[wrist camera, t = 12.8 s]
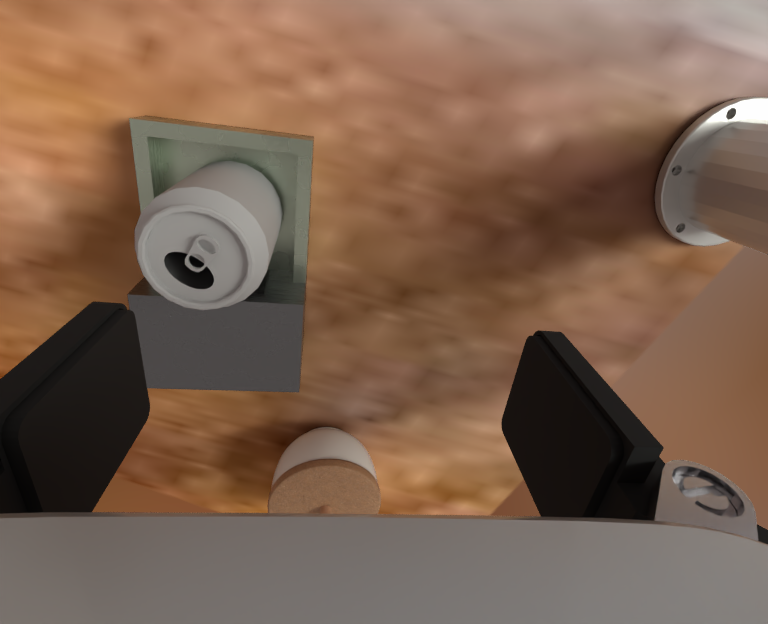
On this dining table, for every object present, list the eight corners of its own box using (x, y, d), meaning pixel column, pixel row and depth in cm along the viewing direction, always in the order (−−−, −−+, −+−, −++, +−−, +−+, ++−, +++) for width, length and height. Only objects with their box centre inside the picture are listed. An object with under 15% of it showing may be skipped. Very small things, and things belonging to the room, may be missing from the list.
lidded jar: (340, 493, 51) (343, 570, 43) (257, 462, 48) (243, 541, 39) (391, 433, 48) (405, 504, 40) (308, 394, 44) (304, 465, 36)
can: (167, 214, 34) (95, 272, 23) (218, 136, 32) (166, 162, 21) (249, 269, 37) (219, 343, 26) (302, 201, 35) (292, 252, 24)
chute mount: (313, 136, 33) (311, 147, 27) (302, 347, 42) (299, 392, 35) (145, 115, 31) (101, 122, 25) (170, 341, 40) (141, 387, 33)
